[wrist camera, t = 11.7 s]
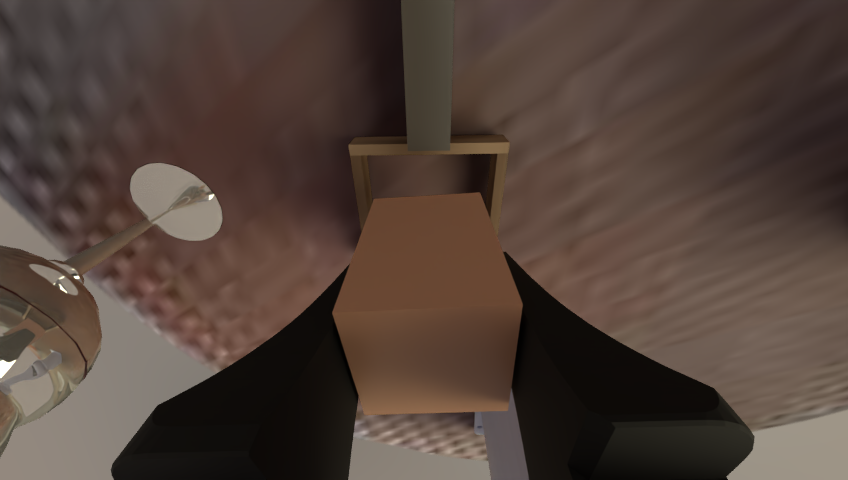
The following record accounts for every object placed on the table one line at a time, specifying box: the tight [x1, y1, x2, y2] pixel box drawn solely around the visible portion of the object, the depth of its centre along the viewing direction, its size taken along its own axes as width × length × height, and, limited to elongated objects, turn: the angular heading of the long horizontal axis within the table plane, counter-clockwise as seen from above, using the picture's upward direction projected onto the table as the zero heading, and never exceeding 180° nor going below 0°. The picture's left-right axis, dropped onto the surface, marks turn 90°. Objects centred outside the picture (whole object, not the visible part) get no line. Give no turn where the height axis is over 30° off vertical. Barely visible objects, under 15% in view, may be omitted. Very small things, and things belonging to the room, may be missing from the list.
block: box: [332, 192, 523, 415], centre depth 11 cm, size 4×4×6 cm
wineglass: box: [0, 163, 223, 457], centre depth 12 cm, size 7×7×12 cm
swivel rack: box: [348, 0, 510, 236], centre depth 14 cm, size 7×15×3 cm, turn 1°
